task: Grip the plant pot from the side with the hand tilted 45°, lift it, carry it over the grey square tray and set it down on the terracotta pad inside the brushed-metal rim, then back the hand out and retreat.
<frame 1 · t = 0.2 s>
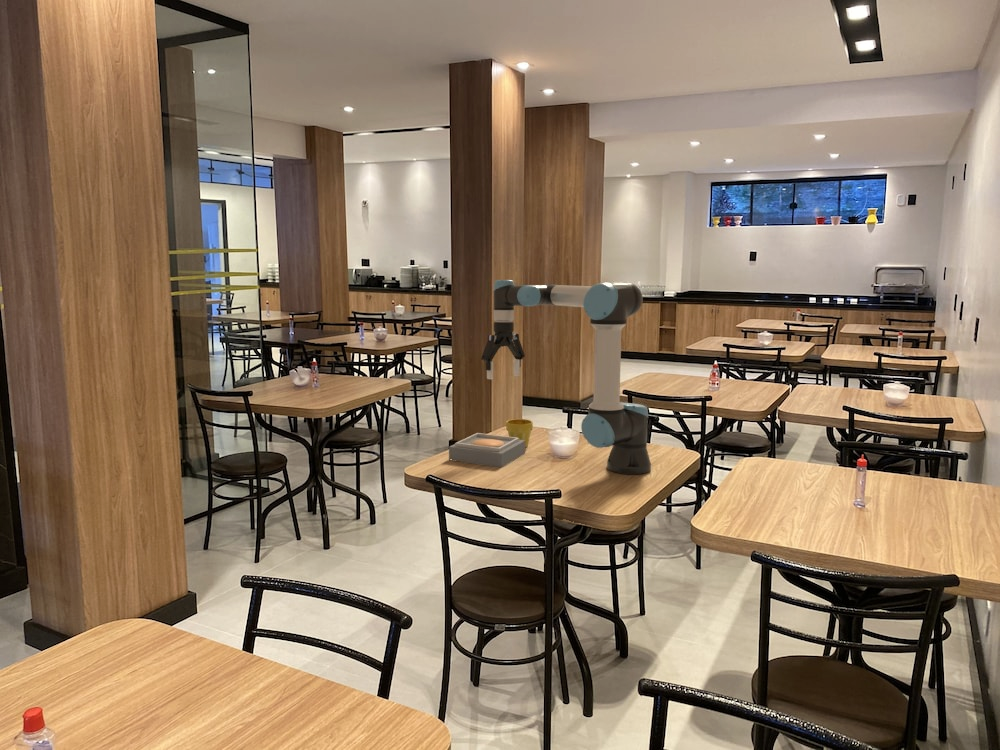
hand: (503, 377, 275), 28 cm above the table, tool pointing down, fingers open, 13 cm apart
plant pot: (519, 446, 284), on the table
grey square tray: (487, 456, 268), on the table
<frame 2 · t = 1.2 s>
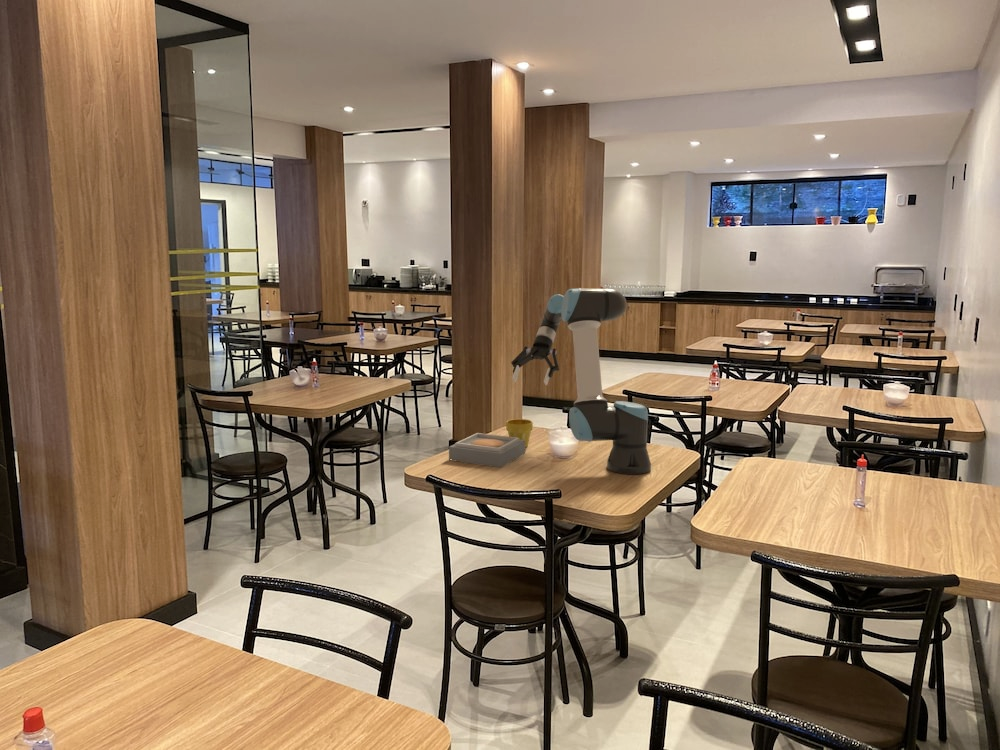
hand: (529, 381, 289), 24 cm above the table, tool tilted 45°, fingers open, 13 cm apart
nothing on the table moved.
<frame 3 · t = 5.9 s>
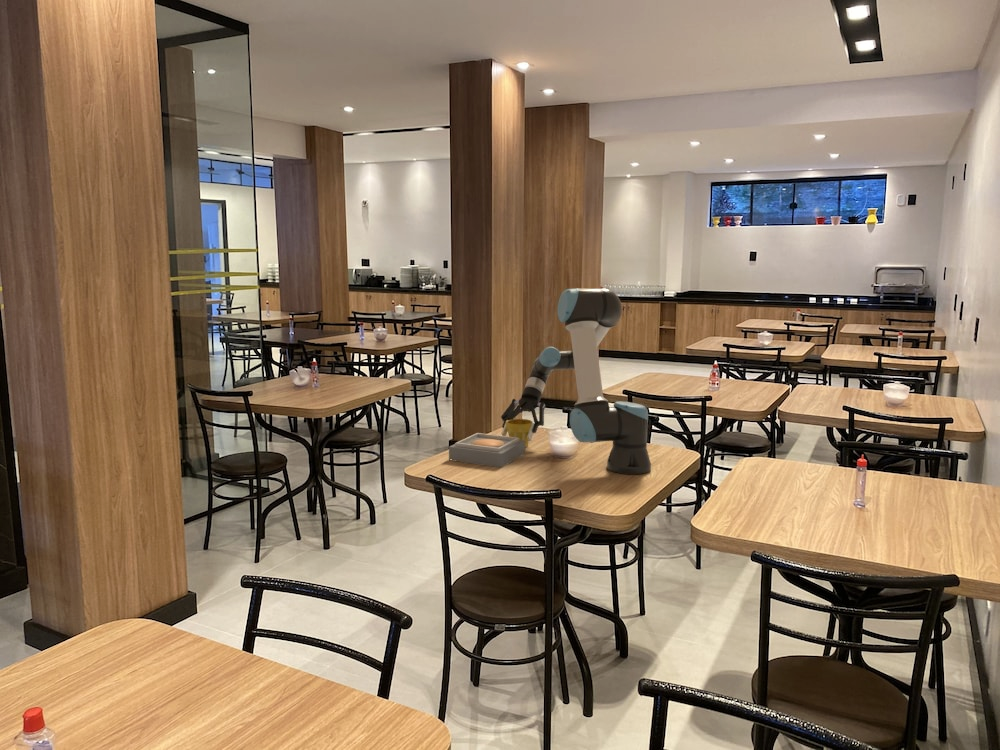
hand: (515, 437, 281), 4 cm above the table, tool tilted 45°, fingers closed on plant pot, 10 cm apart
plant pot: (519, 446, 284), on the table, touching gripper
when the fingers open (10 cm above the table, at t = 11.1 s): plant pot drops 1 cm, resting on grey square tray.
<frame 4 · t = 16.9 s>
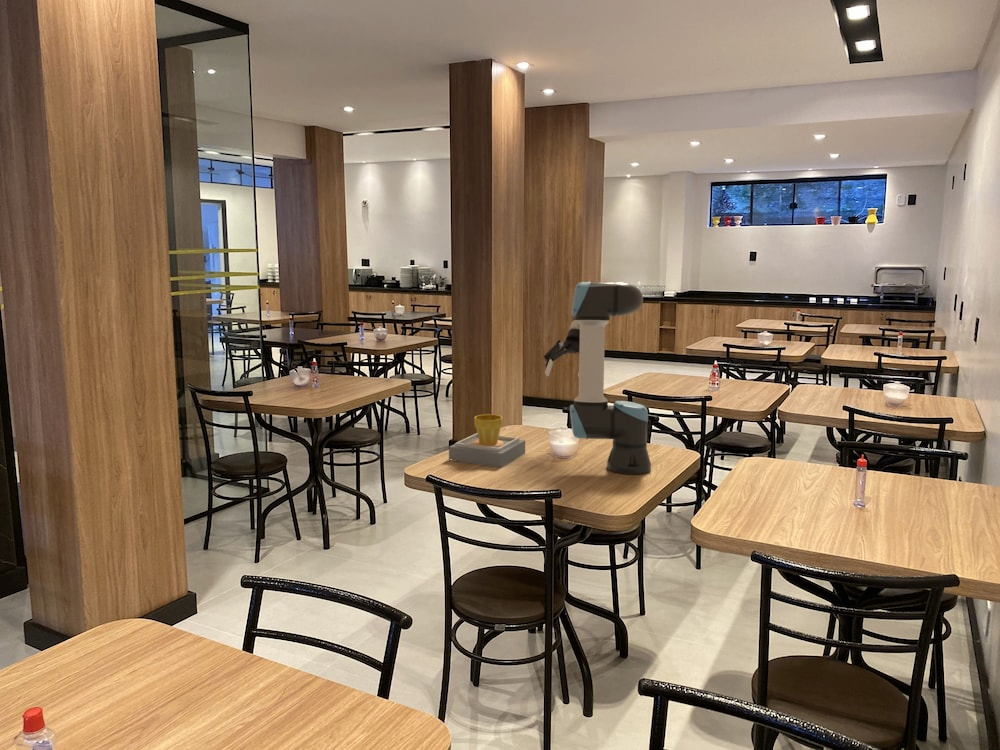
hand: (562, 375, 282), 28 cm above the table, tool tilted 45°, fingers open, 13 cm apart
plant pot: (488, 443, 267), point 5 cm above the table, touching grey square tray
at the end: plant pot inside the target area on the grey square tray (0.1 cm from its centre), point 5.0 cm above the grey square tray's base; plant pot tilted 0°; the gripper is holding nothing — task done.
